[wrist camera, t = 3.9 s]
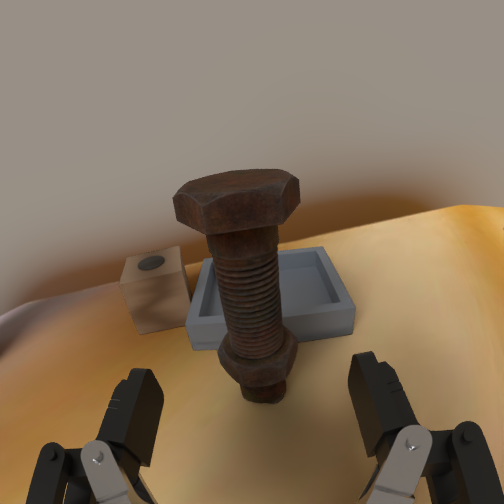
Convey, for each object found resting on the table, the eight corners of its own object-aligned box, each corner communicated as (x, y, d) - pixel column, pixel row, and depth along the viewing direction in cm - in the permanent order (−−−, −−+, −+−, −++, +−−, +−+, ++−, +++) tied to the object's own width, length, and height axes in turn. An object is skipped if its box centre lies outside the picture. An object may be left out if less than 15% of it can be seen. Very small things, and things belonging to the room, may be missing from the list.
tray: (193, 350, 23) (185, 325, 22) (208, 280, 34) (204, 258, 33) (351, 334, 23) (355, 307, 22) (322, 268, 34) (322, 246, 32)
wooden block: (139, 334, 26) (118, 283, 23) (142, 302, 31) (126, 256, 28) (196, 323, 27) (181, 269, 24) (190, 292, 32) (179, 244, 29)
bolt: (247, 358, 22) (217, 169, 15) (307, 370, 20) (305, 166, 14) (215, 413, 17) (149, 198, 11) (284, 432, 15) (266, 195, 9)
